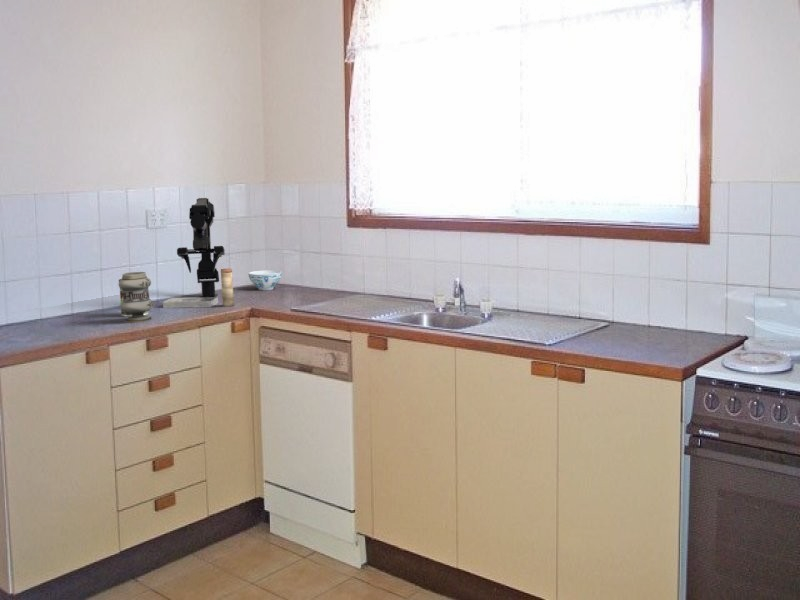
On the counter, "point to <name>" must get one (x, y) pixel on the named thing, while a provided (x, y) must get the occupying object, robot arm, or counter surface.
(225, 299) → the peg
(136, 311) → the apothecary jar
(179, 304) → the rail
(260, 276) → the chinaware
